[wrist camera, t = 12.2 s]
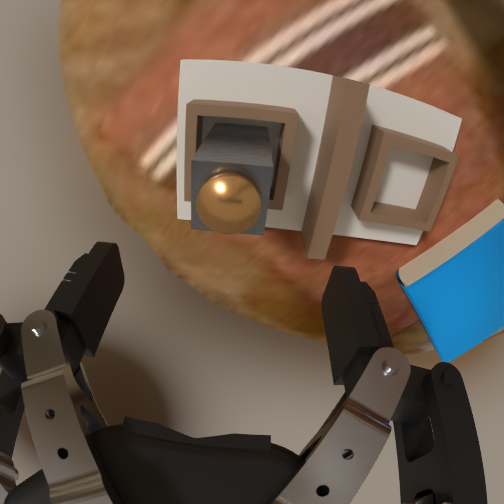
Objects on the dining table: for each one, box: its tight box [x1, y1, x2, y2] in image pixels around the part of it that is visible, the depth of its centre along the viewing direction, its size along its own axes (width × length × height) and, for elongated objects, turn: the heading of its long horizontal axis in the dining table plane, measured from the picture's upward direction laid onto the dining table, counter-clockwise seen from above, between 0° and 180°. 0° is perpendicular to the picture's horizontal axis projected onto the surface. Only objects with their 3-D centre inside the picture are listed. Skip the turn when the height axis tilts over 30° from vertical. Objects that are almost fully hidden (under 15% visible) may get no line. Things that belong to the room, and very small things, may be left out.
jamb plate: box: [177, 60, 462, 260], centre depth 22 cm, size 24×14×6 cm, turn 84°
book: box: [397, 199, 504, 363], centre depth 32 cm, size 17×4×25 cm
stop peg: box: [191, 123, 273, 235], centre depth 18 cm, size 4×4×10 cm
